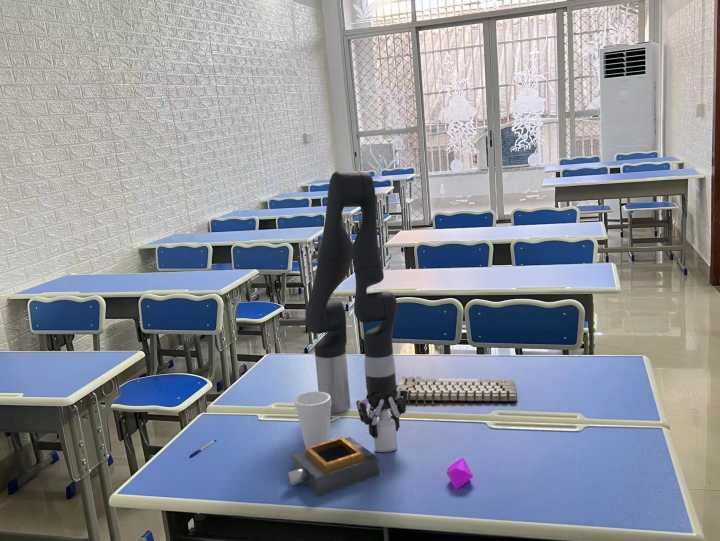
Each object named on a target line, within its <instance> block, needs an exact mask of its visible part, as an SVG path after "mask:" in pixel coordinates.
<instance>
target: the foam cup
mask: <svg viewBox="0 0 720 541" xmlns="http://www.w3.org/2000/svg"><path fill="white" fill-rule="evenodd" d="M331 405H332V404H331V396H330V395H329V394H328V393H325V392H318V391H310V392H309V391H308V392H305V393H301V394H300V395H298V396H296V397H295V398H294V407H295V408H294V409H295V411H296V413H297V418H298V422H299V426H300V430H301V434H302V439H303V443H304V447H305V448H307V447H310V446H313V445H316V444H320V443H323V442H326V441H329V440H330V431H331V429H330V428H331V413H330V412H331Z"/></svg>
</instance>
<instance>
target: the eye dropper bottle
mask: <svg viewBox="0 0 720 541" xmlns="http://www.w3.org/2000/svg"><path fill="white" fill-rule="evenodd" d="M376 424H377V435H378V437H377V438H373V440H374V442H373V443H374V449H375V451H376V453H388V452H393V451H395V450H397V449H398V439H397V431H396V425H395V421H394V419H393V418H391V416H390V417H389V409H384V410H383V411H380V415H379V416H378V417H377V421H376Z"/></svg>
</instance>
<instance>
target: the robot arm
mask: <svg viewBox="0 0 720 541" xmlns="http://www.w3.org/2000/svg"><path fill="white" fill-rule="evenodd" d="M374 182H375V181H374V179H373V176H372V174H371V172H370V173H369V172H368V171H366V170H337V171H334V172H333V173H332V175H331V176H330V179H329V182H328V188H327V189H328V190H327V199H326V209H325V210H326V211H325V218H324V225H323V232H322V237H321V242H320V247H319V252H318V257H317V262H316V264H317V265H316V270H315V275H314V281H313V285H312V287H311V292H310V295H309V298H308V301H307V306H306V308H305V324H306V328H307V329H308V330H309V332H310V333H312V334H315V335H316V334H317V335H319V334H325V333H326V334H325V336H324V337H323V338H321V339H320V340H319V341H318V342H316V344H315V345H314V350H313V351H314V359H315V368H316V378H317V389H318V390H317V392H325V393H328V394H329V395H330V396H331V404H332V405H331V412H330V414H339V413H344V412H346V411H348V410H350V408H351V395H350V384H349V382H350V381H349V372H348V360H347V350H346V349H347V348H346V347H347V342H348V338H347V337H348V336H347V315H346V309H345V306H344V304H343V303H342V301H341V300H340V299H338V298H336V297H335V298H331V297H332V295H333V293H334V292H335V291H336V290H337V288H338V287H339V286H340V285H341V284H342V282H343V281H344V279H345V278H346V277H347V275H348V274H349V272H350V269H351V265H352V266H353V270H354V275H355V276H354V277H355V294H354V303H353V313H354V316H355V318H356V319H357V320H358V321H359V322H361V323H363V324H366V323H373V322H379V324H378V325H377V326H376V327H374V328H370V329H369V330H367V331H365V332H364V334H363V347H364V348H363V349H364V375H365V387H366V392H367V393H366V396H365V399H362V400H359V399H358V400H356V404H355V405H356V407H357V412H358V416H359V419H360V422H362V423H363V424H364V425H368V434H369V435H370V436H371V437H372V438H373V439H374V438H377V437H378V435H377V424H376V421H377V419H378V418H379V415H380V411H383V410H384V409H388V412H390V414H391V415H390V418H393V419H394V421H395V425H396V432H398V431H399V429H400V427H401V426H400V416H401V415H402V414H405V413H406V411H407V410H406V409H407V406H406V402H407V391H405V390H404V389H402V388H400V389H399V390H396V385H397V380H396V379H397V377H396V364H395V363H396V362H395V357H394V351H393V350H394V348H393V347H394V346H393V332H394V324H395V321H396V316H397V312H398V302H397V298H396V296H395V295H394V293H392V292H391V291H388V290H386V291H376V292H369V293H368V292H367V291H368V288H369V287H371V286H374V285H377V284H379V283H381V282H383V280H384V278H385V277H384V276H385V275H384V270H383V264H382V259H381V252H380V247H379V239H378V221H377V219H378V218H377V202H376V201H377V200H376V188H375V187H376V186H375V183H374ZM357 207H358V208H360V211H361V222H360V226H359V228H358V232H357V234H356V236H355V239H354V241H353V242H352V239H351V237H350V236H349V233H348V232H347V229H346V228H345V226H344V222H343V211H344V209H345V208H357ZM396 396H397V397H398V399H397V405H396V404H395V403H394V400H395V398H396ZM368 404H369V406H368ZM367 409H368V410H367Z"/></svg>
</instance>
